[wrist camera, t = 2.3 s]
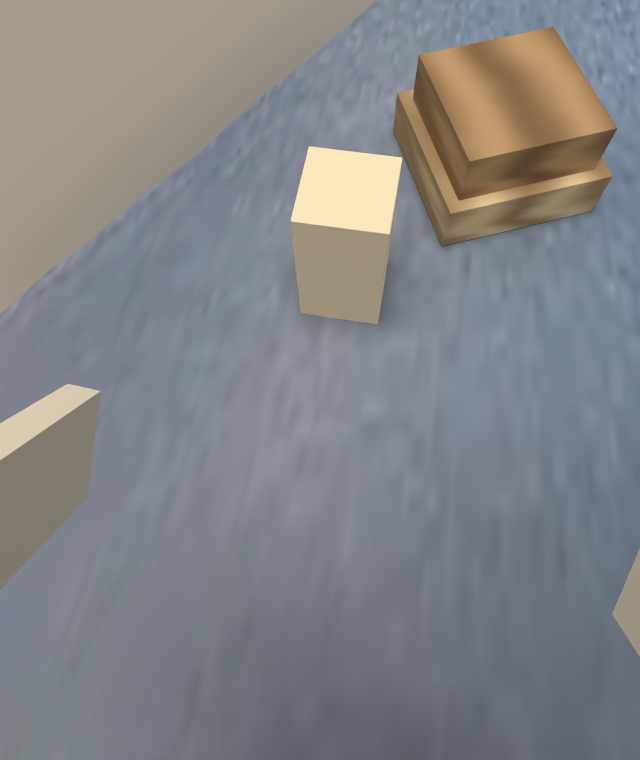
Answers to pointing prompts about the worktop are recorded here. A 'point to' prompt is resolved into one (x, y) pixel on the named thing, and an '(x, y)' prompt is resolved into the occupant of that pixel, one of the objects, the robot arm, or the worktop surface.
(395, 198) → the cream brick
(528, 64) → the block tower
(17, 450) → the robot arm
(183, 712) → the worktop surface
